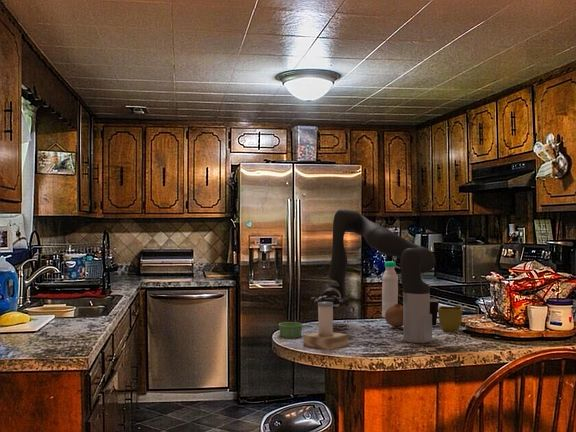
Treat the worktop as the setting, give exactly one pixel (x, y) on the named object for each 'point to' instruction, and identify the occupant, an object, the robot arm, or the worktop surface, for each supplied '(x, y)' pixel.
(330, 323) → the canister
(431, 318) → the robot arm
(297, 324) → the ramekin
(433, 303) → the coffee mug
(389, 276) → the water bottle
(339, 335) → the base block
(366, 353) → the worktop surface
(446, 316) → the flower pot
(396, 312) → the onion
